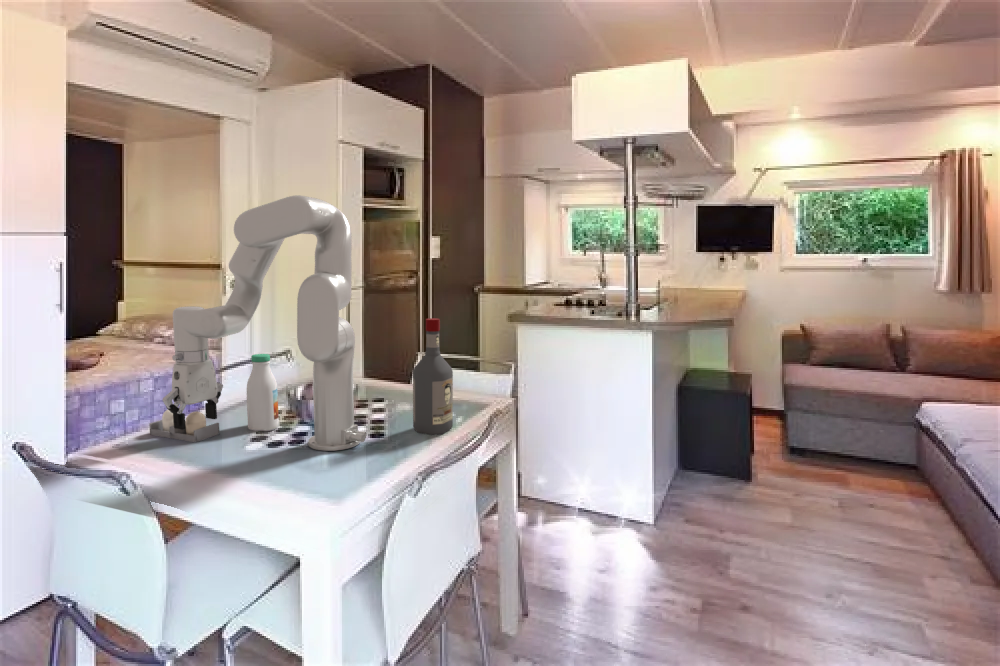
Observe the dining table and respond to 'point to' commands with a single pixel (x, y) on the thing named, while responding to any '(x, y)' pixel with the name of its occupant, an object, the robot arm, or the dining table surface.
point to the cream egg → (167, 420)
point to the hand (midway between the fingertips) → (196, 423)
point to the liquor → (432, 387)
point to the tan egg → (194, 422)
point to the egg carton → (184, 432)
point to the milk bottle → (262, 395)
